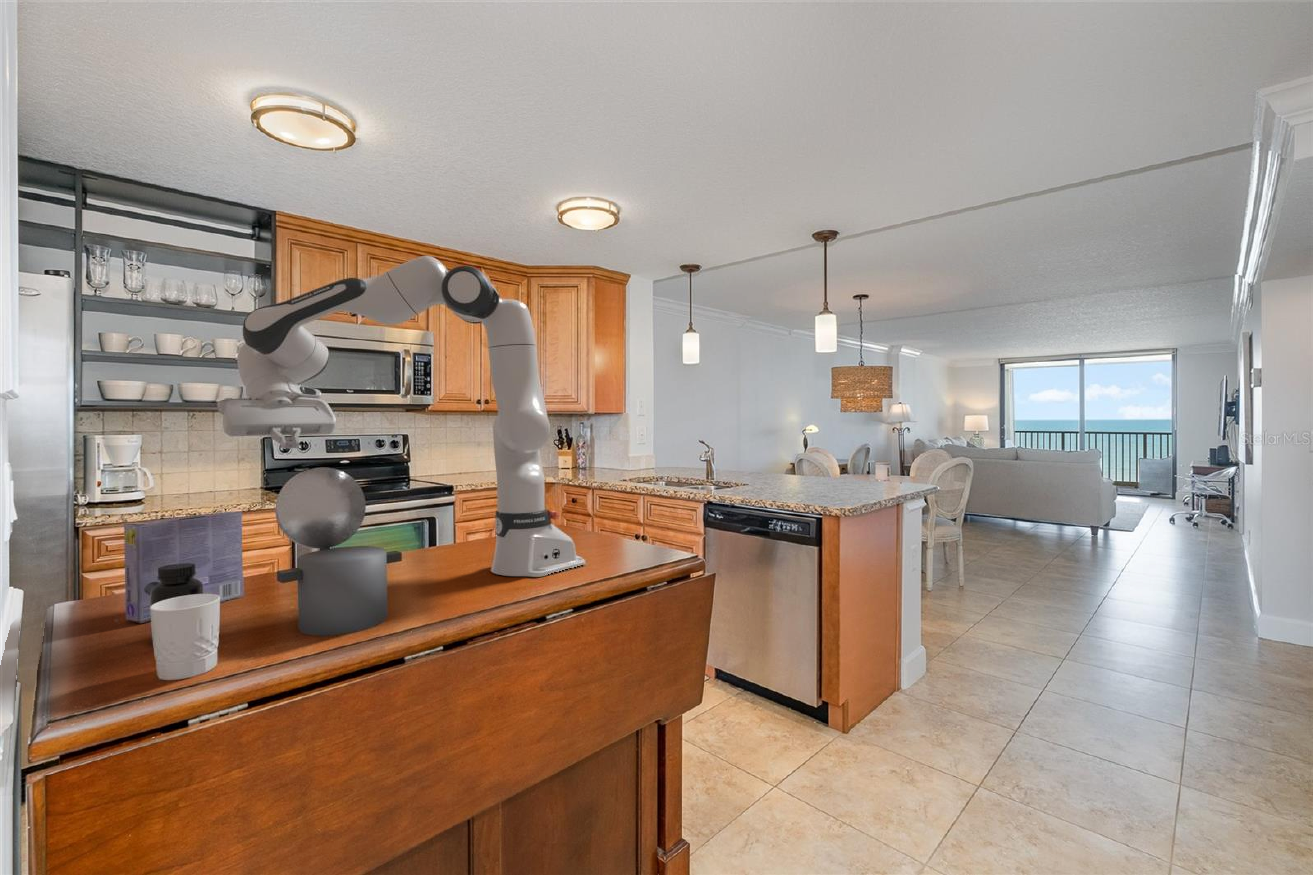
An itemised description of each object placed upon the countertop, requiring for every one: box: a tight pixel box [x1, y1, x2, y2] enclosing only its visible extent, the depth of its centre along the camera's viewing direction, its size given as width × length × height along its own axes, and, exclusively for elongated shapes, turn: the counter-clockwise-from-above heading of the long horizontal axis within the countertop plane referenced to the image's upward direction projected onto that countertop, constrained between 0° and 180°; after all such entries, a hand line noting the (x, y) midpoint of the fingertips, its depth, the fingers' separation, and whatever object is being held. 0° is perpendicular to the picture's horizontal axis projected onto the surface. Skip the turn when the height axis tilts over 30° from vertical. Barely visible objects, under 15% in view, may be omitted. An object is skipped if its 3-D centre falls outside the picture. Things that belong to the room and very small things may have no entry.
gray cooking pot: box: [276, 545, 403, 637], centre depth 105 cm, size 20×14×12 cm
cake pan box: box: [123, 510, 244, 624], centre depth 114 cm, size 19×5×18 cm, turn 157°
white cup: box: [150, 594, 221, 681], centre depth 85 cm, size 8×8×10 cm
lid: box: [274, 466, 367, 550], centre depth 111 cm, size 15×15×2 cm
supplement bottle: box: [150, 563, 203, 643], centre depth 98 cm, size 7×7×12 cm
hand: (290, 446), depth 121 cm, fingers closed
